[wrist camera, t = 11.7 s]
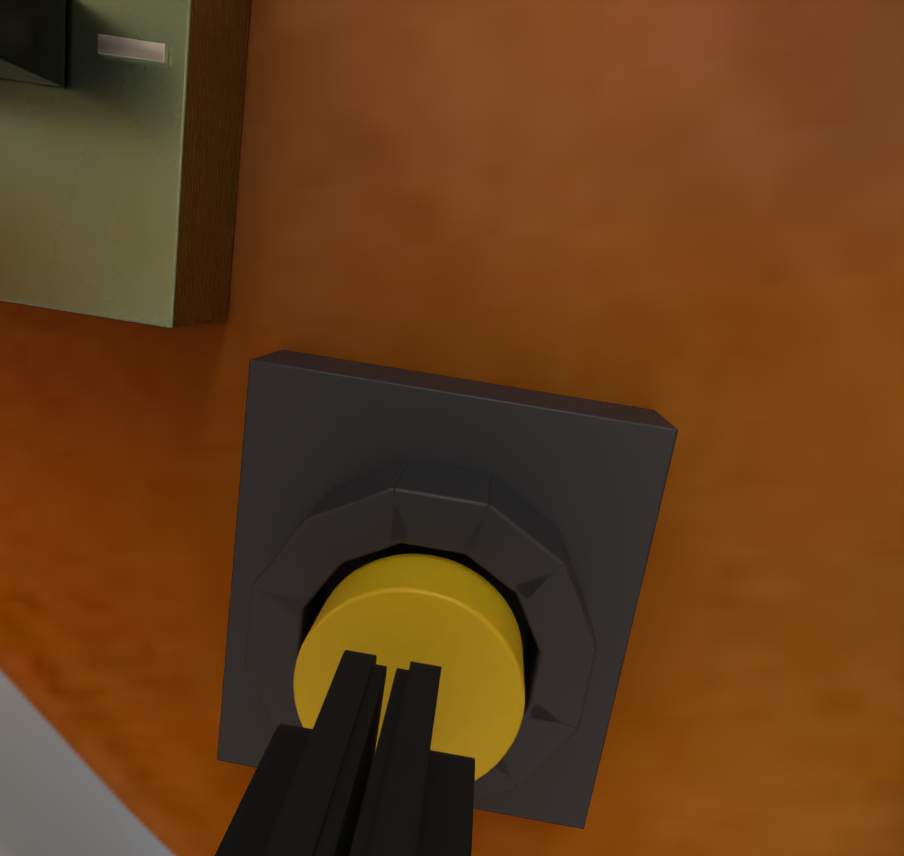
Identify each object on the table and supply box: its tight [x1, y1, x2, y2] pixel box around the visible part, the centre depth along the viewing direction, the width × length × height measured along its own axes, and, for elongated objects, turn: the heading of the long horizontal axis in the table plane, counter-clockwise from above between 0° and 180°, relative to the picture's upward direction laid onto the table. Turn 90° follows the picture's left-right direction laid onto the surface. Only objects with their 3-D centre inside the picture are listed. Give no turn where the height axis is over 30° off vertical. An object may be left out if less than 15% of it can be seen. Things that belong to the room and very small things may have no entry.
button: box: [293, 554, 525, 781], centre depth 14 cm, size 5×5×2 cm
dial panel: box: [0, 0, 251, 329], centre depth 15 cm, size 11×10×3 cm
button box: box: [217, 350, 678, 829], centre depth 16 cm, size 11×10×4 cm
